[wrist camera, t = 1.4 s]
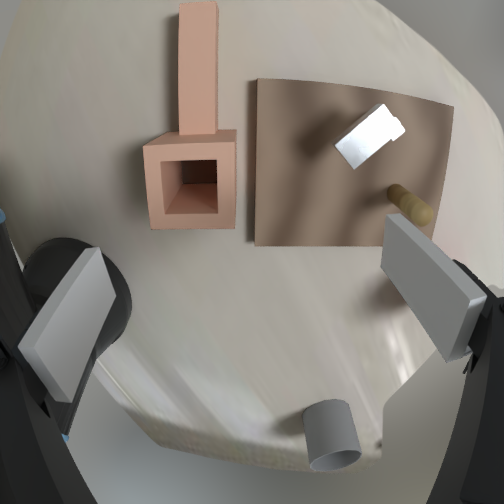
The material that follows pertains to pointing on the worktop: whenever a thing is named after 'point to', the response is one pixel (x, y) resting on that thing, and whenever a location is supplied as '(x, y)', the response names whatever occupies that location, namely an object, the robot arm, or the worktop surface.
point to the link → (193, 135)
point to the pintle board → (343, 165)
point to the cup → (331, 435)
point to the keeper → (367, 135)
